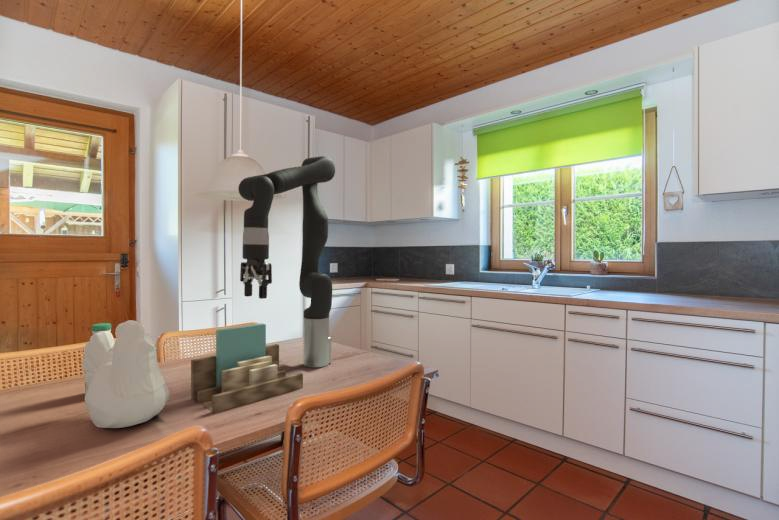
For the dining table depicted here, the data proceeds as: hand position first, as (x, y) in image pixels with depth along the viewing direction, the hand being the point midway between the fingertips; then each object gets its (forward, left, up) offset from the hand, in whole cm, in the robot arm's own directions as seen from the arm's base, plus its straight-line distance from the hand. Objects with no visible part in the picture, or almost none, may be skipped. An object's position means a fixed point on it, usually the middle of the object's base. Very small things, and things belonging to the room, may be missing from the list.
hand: (255, 297), depth 123 cm
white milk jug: (+34, -3, -28) cm, 44 cm away
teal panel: (+6, +3, -26) cm, 27 cm away
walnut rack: (+6, +7, -27) cm, 29 cm away
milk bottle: (+33, -27, -28) cm, 51 cm away
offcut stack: (+6, +8, -26) cm, 28 cm away
